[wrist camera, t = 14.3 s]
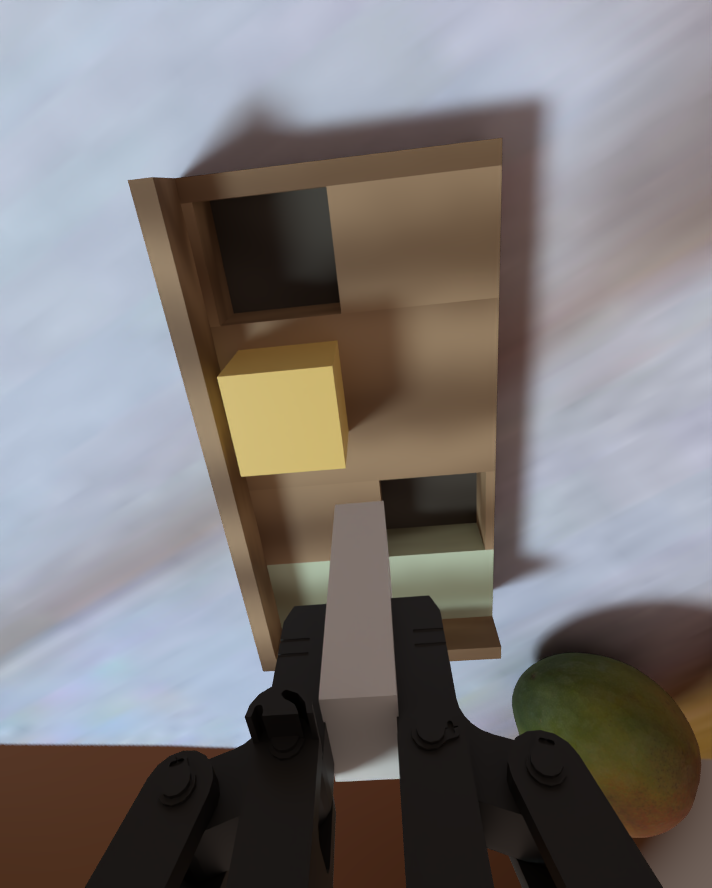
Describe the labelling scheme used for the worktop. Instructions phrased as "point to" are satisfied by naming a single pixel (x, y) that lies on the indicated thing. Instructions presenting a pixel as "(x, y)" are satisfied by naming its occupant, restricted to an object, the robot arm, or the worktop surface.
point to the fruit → (616, 734)
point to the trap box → (349, 362)
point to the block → (286, 408)
